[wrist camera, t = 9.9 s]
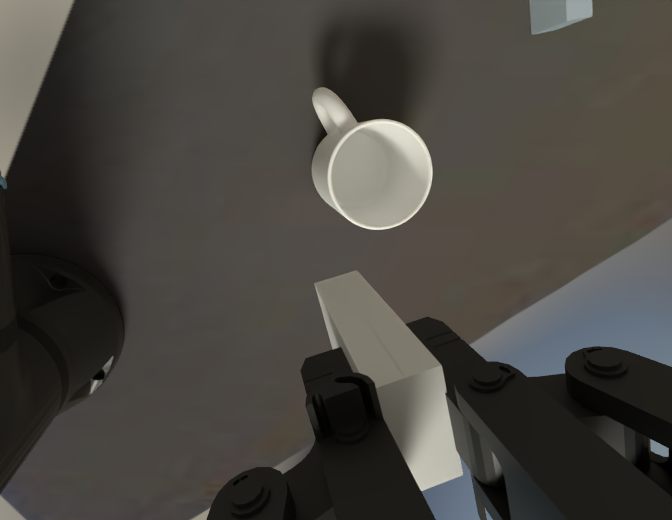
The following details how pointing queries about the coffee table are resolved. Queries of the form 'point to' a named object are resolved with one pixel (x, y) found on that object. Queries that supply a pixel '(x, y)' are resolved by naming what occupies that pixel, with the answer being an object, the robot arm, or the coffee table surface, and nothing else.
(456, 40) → the coffee table surface
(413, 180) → the mug
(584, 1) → the board
